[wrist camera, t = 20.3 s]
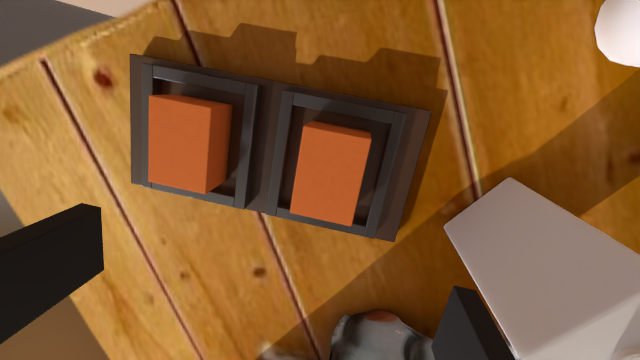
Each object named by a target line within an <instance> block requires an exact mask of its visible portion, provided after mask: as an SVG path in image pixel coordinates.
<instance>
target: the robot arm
mask: <svg viewBox="0 0 640 360" xmlns="http://www.w3.org/2000/svg"><path fill="white" fill-rule="evenodd" d="M103 270H104V259H103V240H102V222H101V207H97V206H92V205H88V204H83V203H81V204H79V205H76V206H74V207H72V208H69V209H67V210H64V211H62V212H60V213H57V214H55V215H53V216H50V217H48V218H45V219H43V220H41V221H38V222H36V223H34V224H31V225H29V226H26V227H24V228H22V229H19V230H17V231H15V232H12V233H10V234H8V235H6V236H3V237H0V344H2V343H3V342H4V341H6V340H7V339H8V338H10V337H11V336H13V335H14V334H15V333H17V332H18V331H20V330H21V329H22V328H24V327H25V326H27V325H28V324H29V323H31V322H32V321H33V320H35V319H36V318H38V317H39V316H40V315H42V314H43V313H44V312H46V311H47V310H49V309H50V308H52V307H53V306H54V305H56V304H57V303H59V302H60V301H61V300H63V299H64V298H65V297H67V296H68V295H70V294H71V293H72V292H74V291H75V290H77V289H78V288H79V287H81V286H82V285H84V284H85V283H86V282H88V281H89V280H91V279H92V278H93V277H95V276H96V275H97V274H99V273H100V272H102V271H103ZM431 348H432V352H433V355H434V359H435V360H515V358H514V356H513V354H512V353H511V351H510V349H509V347H508V346H507V344H506V342H505V340H504V339H503V337H502V335H501V333H500V332H499V330H498V328H497V326H496V325H495V323H494V321H493V319H492V318H491V316H490V314H489V312H488V311H487V309H486V307H485V305H484V304H483V302H482V300H481V298H480V297H479V295H478V293H477V291H476V290H472V289H467V288H463V287H458V286H453V289H452V291H451V294H450V297H449V300H448V302H447V305H446V308H445V310H444V313H443V316H442V318H441V321H440V324H439V327H438V329H437V332H436V335H435V337H434V340H433V343H432V346H431Z"/></svg>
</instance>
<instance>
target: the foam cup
mask: <svg viewBox="0 0 640 360" xmlns="http://www.w3.org/2000/svg"><path fill="white" fill-rule="evenodd" d="M594 29H595V35H596V40H597V46H598V48H599V49H600V50H601V51H602V52H603V53H604V55H605V56H606V57H607V58H608V59H609V60H610V61H613V62H617V63H620V64H623V65H627V66H634V67H640V0H605V2H604V3H603V4H602V6H601V7H600V11H599V14H598V17H597V21H596V24H595V27H594Z"/></svg>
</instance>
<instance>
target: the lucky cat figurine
mask: <svg viewBox="0 0 640 360" xmlns="http://www.w3.org/2000/svg"><path fill="white" fill-rule="evenodd" d="M432 343H433V339H431V338H430V337H427V336H425V335H423V334H421V333H419V332H417V331H415V330H414V329H412V328H410V327H408V326H407V325H405V324H404V323H402V322H401V320H400V319H399V317H398V316H396V315H395V314H393V313H390V312H388V311H385V310H375V311H370V312H366V313H360V314H355V315H353V316H348V315H345V316H343V317H342V318H341V319H340V321H339V323H338V324H337V326H336V328H335V329H334V332H333V334H332V339H331V354H330V359H329V360H435V359H434V355H433V352H432V348H431V346H432Z"/></svg>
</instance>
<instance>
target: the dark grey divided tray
mask: <svg viewBox="0 0 640 360" xmlns="http://www.w3.org/2000/svg"><path fill="white" fill-rule="evenodd" d="M168 94H181V95H186V96H191V97H196V98H201V99H206V100H211V101H216V102H221V103H226V104H231V105H233V108H232V119H231V130H230V142H229V153H228V164H227V176H226V181H224V182H223V183H221V184H220V185H218V186H217V187H215V188H214V189H212V190H211V191H210V192H208V193H207V194H202V193H198V192H193V191H189V190H184V189H180V188H175V187H171V186H166V185H162V184H157V183H153V182H149V181H148V164H149V95H168ZM431 113H432V111H429V110H426V109H420V108H415V107H410V106H405V105H399V104H394V103H389V102H384V101H378V100H373V99H368V98H363V97H358V96H352V95H347V94H342V93H337V92H331V91H326V90H321V89H316V88H310V87H305V86H300V85H295V84H290V83H284V82H279V81H274V80H269V79H263V78H258V77H253V76H248V75H242V74H237V73H232V72H227V71H222V70H216V69H211V68H206V67H201V66H195V65H190V64H185V63H180V62H174V61H169V60H164V59H159V58H154V57H148V56H143V55H137V54H130V114H131V183H133V184H137V185H142V187H147V188H151V189H155V190H160V191H164V192H169V193H173V194H177V195H182V196H186V197H191V198H195V199H200V200H204V201H208V202H213V203H217V204H222V205H226V206H231V207H235V208H240V209H248V210H253V211H257V212H262V213H266V214H267V215H271V216H276V217H280V218H284V219H289V220H293V221H298V222H302V223H307V224H311V225H315V226H320V227H324V228H329V229H333V230H338V231H342V232H346V233H351V234H355V235H360V236H364V237H369V238H373V239H374V238H377V239H382V240H386V241H391V242H395V238H396V235H397V231H398V228H399V224H400V221H401V217H402V214H403V210H404V207H405V203H406V200H407V196H408V193H409V190H410V186H411V183H412V179H413V176H414V172H415V169H416V165H417V162H418V158H419V155H420V151H421V148H422V144H423V141H424V137H425V134H426V130H427V127H428V123H429V120H430V116H431ZM312 120H314V121H319V122H324V123H329V124H334V125H339V126H344V127H349V128H354V129H359V130H364V131H369V132H370V134H371V140H372V141H371V145H370V149H369V154H368V158H367V162H366V166H365V171H364V175H363V179H362V184H361V188H360V192H359V197H358V201H357V205H356V209H355V214H354V218H353V222H352V226H347V225H342V224H338V223H333V222H329V221H324V220H320V219H315V218H311V217H306V216H302V215H297V214H293V213H290V207H291V201H292V195H293V189H294V182H295V176H296V170H297V164H298V158H299V151H300V145H301V139H302V133H303V127H304V125H306V124H308V123H309V122H311V121H312Z"/></svg>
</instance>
